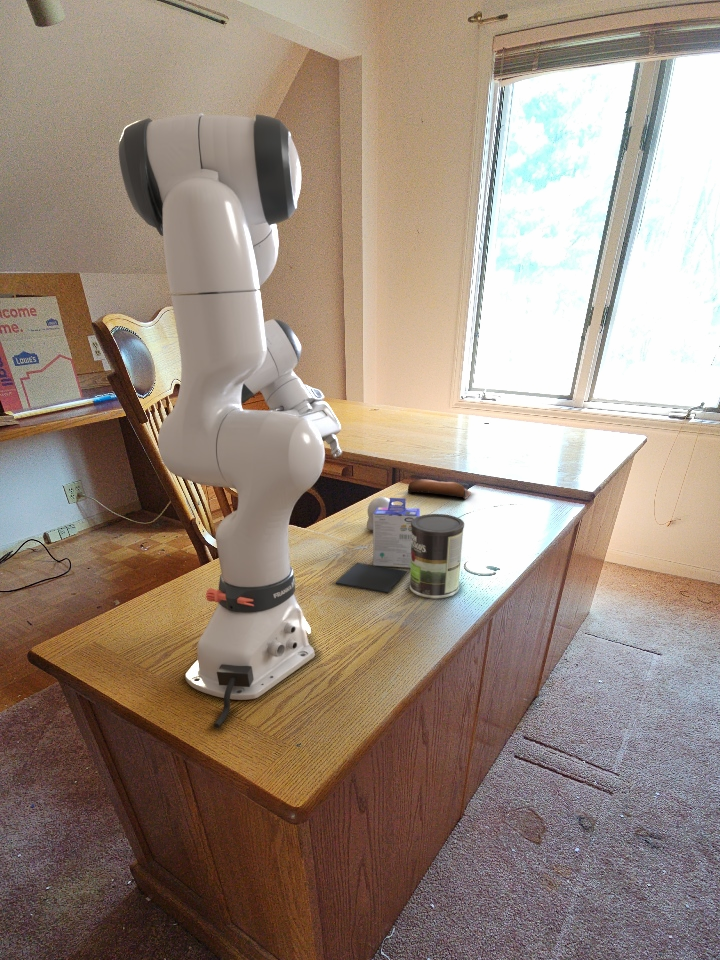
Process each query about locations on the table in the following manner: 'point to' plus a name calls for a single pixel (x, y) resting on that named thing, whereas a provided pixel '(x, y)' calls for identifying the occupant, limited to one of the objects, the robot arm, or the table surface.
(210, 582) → the table surface
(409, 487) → the sunglasses case
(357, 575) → the coaster
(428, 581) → the coffee can
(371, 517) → the chubby cartoon animal
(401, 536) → the ink cartridge box
